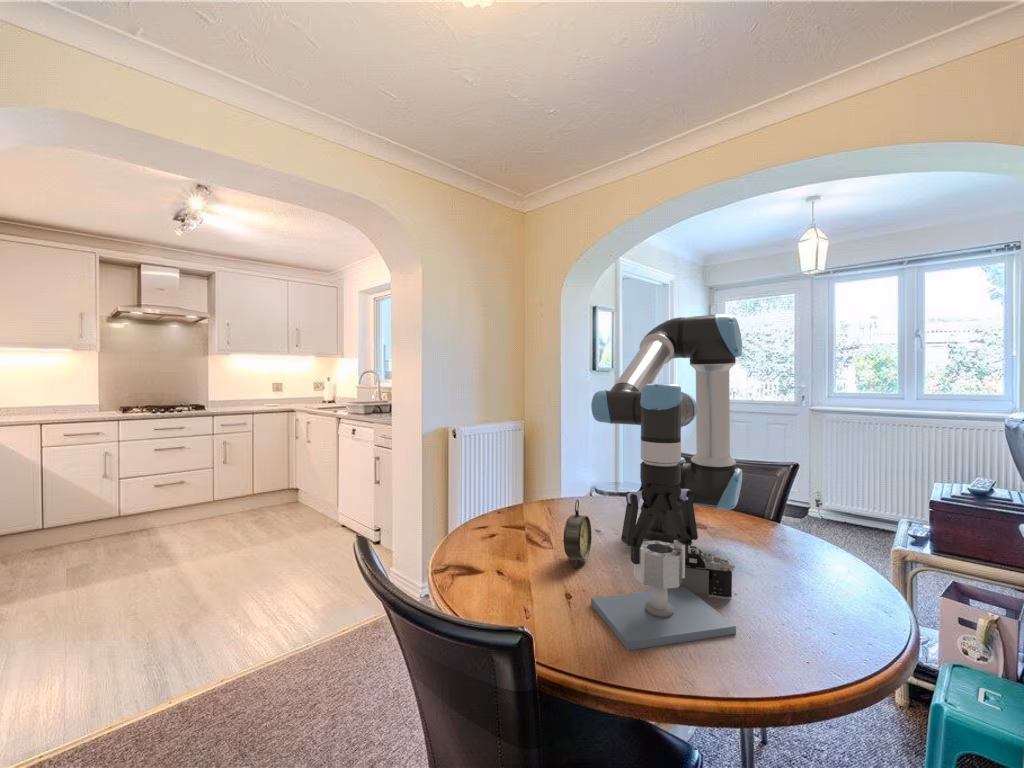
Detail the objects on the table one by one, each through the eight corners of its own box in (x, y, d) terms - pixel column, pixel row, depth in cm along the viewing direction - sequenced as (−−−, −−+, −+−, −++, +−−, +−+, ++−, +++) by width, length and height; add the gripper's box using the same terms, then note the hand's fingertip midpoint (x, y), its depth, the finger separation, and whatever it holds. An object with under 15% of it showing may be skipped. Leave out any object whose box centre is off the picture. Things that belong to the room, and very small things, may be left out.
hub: (666, 568, 93) (666, 539, 93) (689, 585, 85) (690, 554, 85) (631, 571, 91) (631, 542, 91) (651, 590, 83) (652, 558, 83)
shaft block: (684, 593, 99) (684, 559, 98) (736, 634, 83) (736, 593, 83) (591, 604, 94) (591, 569, 93) (627, 650, 78) (627, 607, 78)
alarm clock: (580, 572, 109) (581, 506, 109) (559, 568, 111) (560, 503, 111) (592, 555, 119) (592, 495, 119) (573, 552, 121) (573, 492, 121)
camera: (732, 585, 102) (732, 542, 102) (736, 604, 94) (736, 557, 94) (660, 574, 108) (661, 533, 108) (658, 591, 100) (659, 546, 99)
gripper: (695, 456, 94) (694, 564, 94) (602, 460, 89) (602, 574, 89) (719, 463, 86) (718, 580, 87) (620, 468, 82) (619, 591, 82)
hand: (659, 577), depth 88 cm, fingers closed on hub, 8 cm apart
